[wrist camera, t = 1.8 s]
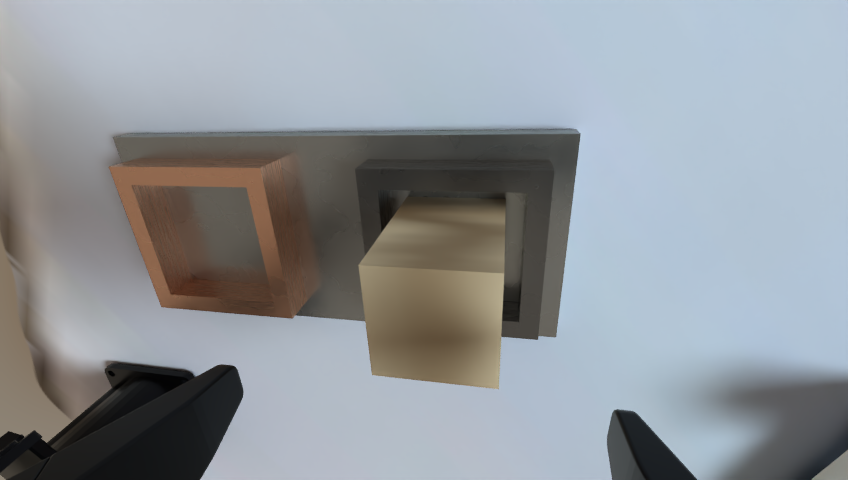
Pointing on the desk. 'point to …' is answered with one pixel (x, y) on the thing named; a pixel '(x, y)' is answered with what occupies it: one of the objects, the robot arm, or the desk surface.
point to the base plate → (336, 213)
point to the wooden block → (437, 291)
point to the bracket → (835, 469)
